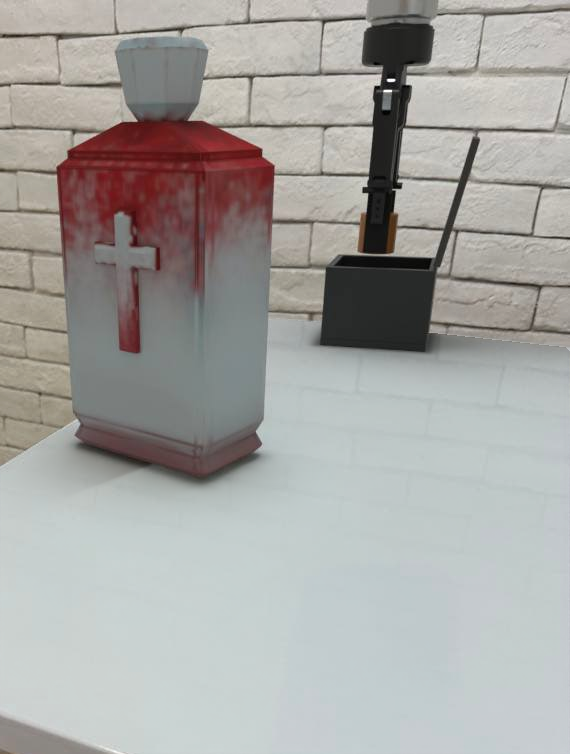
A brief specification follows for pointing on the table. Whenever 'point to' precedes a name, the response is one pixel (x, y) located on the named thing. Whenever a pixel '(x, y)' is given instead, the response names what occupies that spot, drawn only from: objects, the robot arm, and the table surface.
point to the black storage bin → (378, 301)
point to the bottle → (167, 272)
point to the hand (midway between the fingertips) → (376, 249)
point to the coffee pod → (390, 234)
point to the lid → (457, 200)
